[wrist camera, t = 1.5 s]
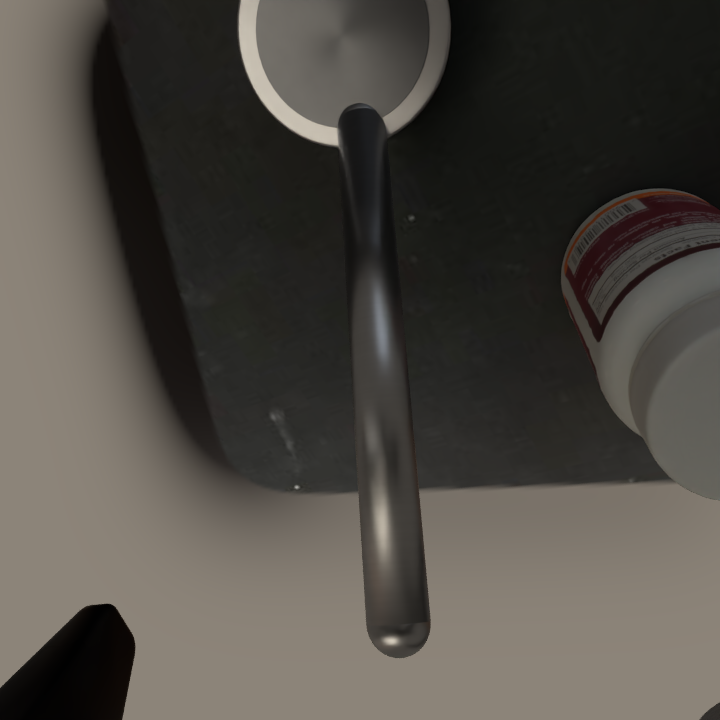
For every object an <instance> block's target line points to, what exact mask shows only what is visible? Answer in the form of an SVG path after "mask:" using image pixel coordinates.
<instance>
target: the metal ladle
mask: <svg viewBox="0 0 720 720" xmlns="http://www.w3.org/2000/svg"><path fill="white" fill-rule="evenodd" d="M237 40H238V48H239V53H240V58H241V62H242V65H243V68H244V71H245V74H246V77H247V79H248V81H249V83H250V85H251V87H252V89H253V91H254V93H255V94H256V96H257V98H258V99H259V101H260V102H261V104H262V105H263V106H264V107H265V109H266V110H267V111H268V113H269V114H270V115H271V116H272V117H273V118H274V119H275V120H276V121H277V122H278V123H280V124H281V125H282V126H284V127H285V128H286V129H287V130H289V131H290V132H292V133H294V134H295V135H297V136H299V137H300V138H302V139H305V140H307V141H309V142H312V143H314V144H318V145H322V146H325V147H331V148H338V156H339V173H340V190H341V206H342V223H343V240H344V257H345V273H346V290H347V307H348V324H349V340H350V357H351V374H352V391H353V407H354V424H355V441H356V458H357V474H358V491H359V508H360V523H361V524H360V525H361V541H362V558H363V574H364V590H365V591H364V592H365V608H366V625H367V631H368V634H369V637H370V639H371V641H372V643H373V644H374V646H375V647H376V648H377V649H378V650H379V651H381V652H382V653H383V654H385V655H387V656H390V657H394V658H405V657H408V656H411V655H413V654H415V653H416V652H418V651H419V650H420V649H421V648H422V647H423V646H424V644H425V643H426V641H427V639H428V636H429V633H430V610H429V598H428V588H427V576H426V565H425V554H424V543H423V531H422V522H421V510H420V498H419V487H418V476H417V465H416V454H415V443H414V431H413V420H412V409H411V398H410V387H409V376H408V365H407V354H406V343H405V331H404V320H403V309H402V298H401V287H400V276H399V265H398V254H397V243H396V231H395V220H394V209H393V198H392V187H391V176H390V165H389V154H388V143H387V139H388V138H391V137H392V136H394V135H395V134H397V133H399V132H400V131H402V130H403V129H404V128H406V127H407V126H408V125H409V124H411V123H412V122H413V121H414V120H415V119H416V118H417V117H418V116H419V115H420V114H421V113H422V112H423V110H424V109H425V108H426V106H427V105H428V104H429V102H430V101H431V99H432V98H433V96H434V94H435V92H436V91H437V89H438V87H439V85H440V82H441V80H442V78H443V75H444V73H445V69H446V66H447V62H448V59H449V53H450V47H451V40H452V19H451V8H450V3H449V0H239V3H238V10H237Z"/></svg>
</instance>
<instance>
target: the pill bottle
mask: <svg viewBox="0 0 720 720" xmlns="http://www.w3.org/2000/svg"><path fill="white" fill-rule="evenodd" d="M561 286H562V293H563V296H564V299H565V302H566V305H567V307H568V310H569V314H570V316H571V319H572V320H573V322H574V325H575V327H576V329H577V331H578V333H579V336H580V339H581V341H582V343H583V346H584V348H585V351H586V353H587V355H588V358H589V360H590V363H591V365H592V367H593V370H594V373H595V375H596V378H597V381H598V383H599V387H600V389H601V391H602V393H603V395H604V397H605V398H606V400H607V402H608V404H609V405H610V407H611V408H612V410H613V411H614V412H615V414H616V415H617V416H618V417H619V419H620V420H621V421H622V422H623V423H624V424H626V425H627V426H628V427H629V428H630V429H631V430H633V431H634V432H635V433H637V434H638V435H640V436H641V437H643V439H644V441H645V442H646V444H647V446H648V448H649V450H650V452H651V454H652V455H653V457H654V459H655V460H656V462H657V463H658V465H659V466H660V467H661V468H662V469H663V470H664V472H665V473H666V474H667V475H668V476H669V477H670V478H672V479H673V480H674V481H675V482H677V483H678V484H679V485H681V486H682V487H684V488H686V489H687V490H689V491H691V492H693V493H696V494H698V495H701V496H703V497H706V498H710V499H714V500H719V501H720V210H719V209H717V208H716V207H714V206H712V205H710V204H709V203H707V202H706V201H704V200H703V199H701V198H699V197H697V196H695V195H692V194H689V193H687V192H683V191H679V190H673V189H663V188H661V189H645V190H639V191H634V192H631V193H628V194H625V195H622V196H620V197H618V198H615V199H613V200H612V201H610V202H608V203H607V204H605V205H603V206H602V207H600V208H599V209H597V210H596V211H595V212H594V213H592V214H591V215H590V216H589V217H588V218H587V219H586V220H585V221H584V222H583V223H582V224H581V225H580V227H579V228H578V229H577V231H576V232H575V234H574V235H573V237H572V239H571V241H570V243H569V245H568V247H567V250H566V252H565V255H564V259H563V264H562V269H561Z"/></svg>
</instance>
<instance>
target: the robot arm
mask: <svg viewBox="0 0 720 720" xmlns="http://www.w3.org/2000/svg"><path fill="white" fill-rule="evenodd" d="M134 656H135V641H134V637H133V635H132V633H131V632H130V630H129V628H128V627H127V625H126V623H125V622H124V620H123V618H122V617H121V615H120V613H119V612H118V610H117V609H116V607H115V606H113V605H111V604H99V605H90V606H86V607H84V608H83V609H82V610H80V611H79V612H78V613H77V614H76V615H75V616H74V617H73V618H72V619H71V620H70V621H69V622H68V623H67V624H66V625H65V626H64V627H62V629H61V630H60V631H58V632H57V633H56V634H55V635H54V636H53V637H52V638H51V639H50V640H49V641H48V642H47V643H46V644H45V645H44V646H43V647H42V648H41V649H40V650H39V651H38V652H37V653H36V654H35V655H34V656H33V657H32V658H31V659H30V660H28V661H27V662H26V663H25V664H24V665H23V666H22V667H21V668H20V669H19V670H18V671H17V672H16V673H15V674H14V675H13V676H12V677H11V678H10V679H9V680H8V681H7V682H6V683H5V684H4V685H3V686H2V687H1V688H0V720H122V717H123V712H124V707H125V702H126V697H127V692H128V687H129V681H130V676H131V671H132V666H133V661H134Z"/></svg>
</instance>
